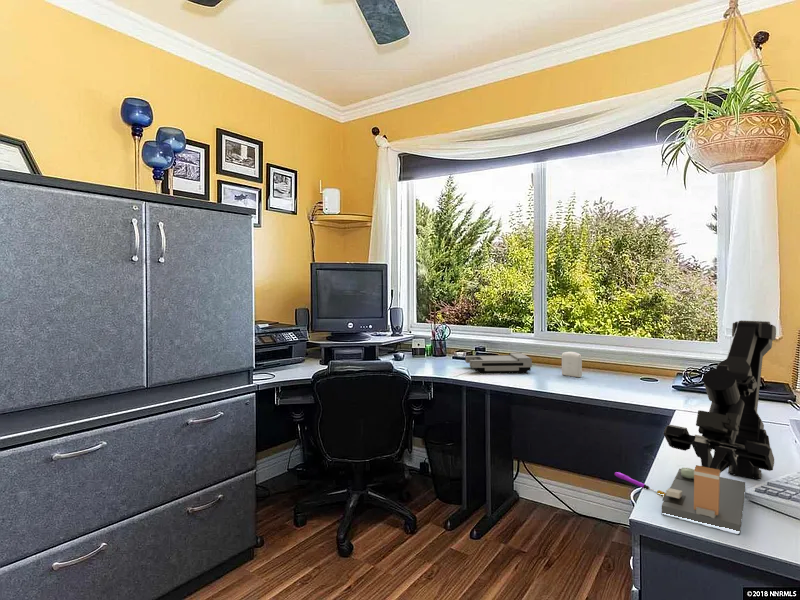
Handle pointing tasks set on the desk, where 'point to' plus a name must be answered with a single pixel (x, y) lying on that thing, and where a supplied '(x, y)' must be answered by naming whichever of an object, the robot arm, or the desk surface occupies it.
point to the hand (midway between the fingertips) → (706, 482)
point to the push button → (687, 473)
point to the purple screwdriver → (634, 481)
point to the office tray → (500, 363)
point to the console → (727, 514)
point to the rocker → (673, 493)
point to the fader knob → (706, 488)
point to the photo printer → (572, 364)
